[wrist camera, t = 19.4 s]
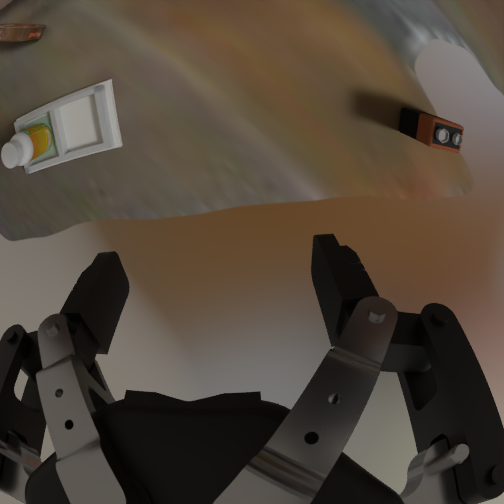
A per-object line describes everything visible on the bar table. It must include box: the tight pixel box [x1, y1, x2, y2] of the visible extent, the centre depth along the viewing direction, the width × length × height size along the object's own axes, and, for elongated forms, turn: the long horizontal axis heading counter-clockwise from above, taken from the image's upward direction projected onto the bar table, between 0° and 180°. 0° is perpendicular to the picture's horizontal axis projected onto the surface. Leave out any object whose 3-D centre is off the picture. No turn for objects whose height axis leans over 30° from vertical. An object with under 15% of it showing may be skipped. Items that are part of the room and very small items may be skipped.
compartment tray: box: [14, 80, 123, 174], centre depth 33 cm, size 11×21×2 cm, turn 94°
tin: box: [0, 24, 46, 42], centre depth 18 cm, size 15×3×8 cm, turn 62°
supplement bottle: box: [1, 123, 54, 168], centre depth 30 cm, size 5×5×10 cm
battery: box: [399, 108, 464, 153], centre depth 32 cm, size 4×7×10 cm, turn 90°
